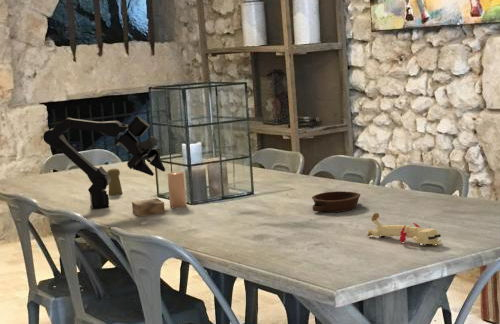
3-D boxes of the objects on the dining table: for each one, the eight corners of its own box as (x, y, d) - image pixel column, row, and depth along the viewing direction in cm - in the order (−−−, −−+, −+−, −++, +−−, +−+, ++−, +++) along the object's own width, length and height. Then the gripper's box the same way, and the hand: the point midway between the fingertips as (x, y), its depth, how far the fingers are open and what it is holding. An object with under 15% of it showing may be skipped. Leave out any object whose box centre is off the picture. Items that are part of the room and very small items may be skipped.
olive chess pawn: (119, 195, 376) (117, 169, 374) (106, 195, 377) (104, 170, 376) (124, 192, 382) (122, 167, 380) (111, 192, 383) (109, 167, 381)
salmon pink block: (172, 208, 340) (169, 175, 338) (168, 205, 346) (165, 173, 344) (188, 206, 342) (185, 173, 340) (183, 203, 348) (181, 171, 346)
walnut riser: (139, 216, 330) (138, 206, 329) (132, 211, 339) (131, 201, 338) (164, 212, 333) (163, 202, 332) (157, 208, 342) (156, 198, 342)
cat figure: (363, 243, 273) (429, 248, 254) (360, 216, 272) (426, 218, 253) (384, 237, 279) (449, 241, 260) (381, 210, 278) (446, 212, 260)
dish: (374, 205, 321) (374, 192, 320) (334, 217, 306) (333, 203, 306) (338, 200, 334) (338, 188, 333) (298, 212, 319) (297, 198, 318)
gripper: (131, 134, 336) (158, 162, 334) (155, 127, 353) (181, 154, 350) (115, 154, 341) (142, 182, 338) (140, 147, 358) (166, 174, 355)
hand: (159, 172), depth 345 cm, fingers open, 9 cm apart
